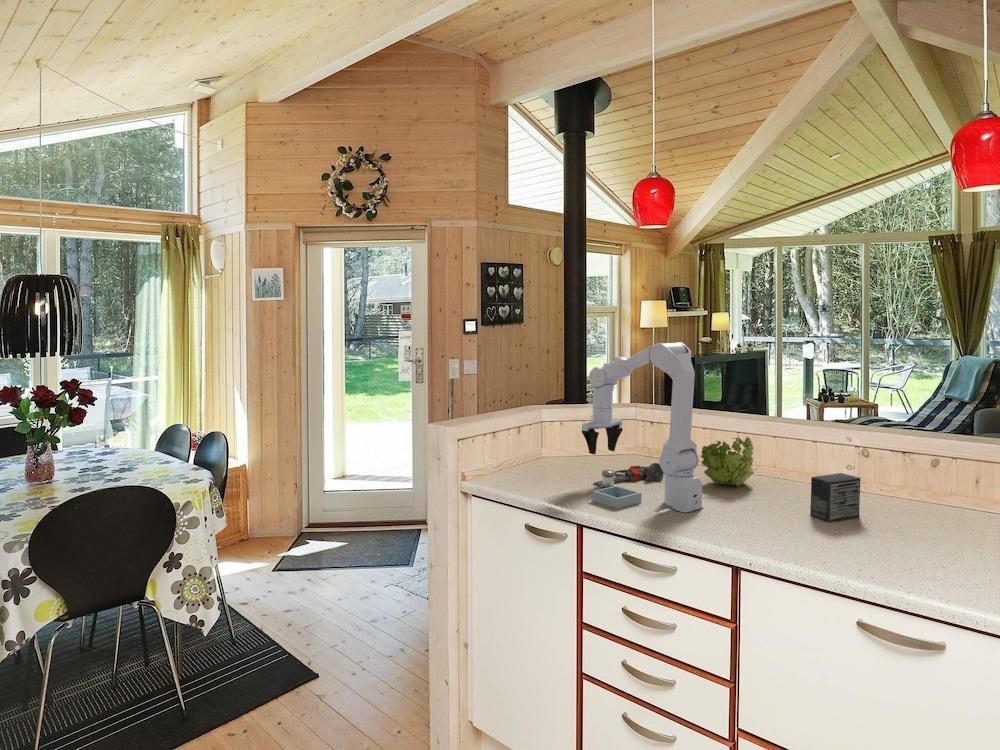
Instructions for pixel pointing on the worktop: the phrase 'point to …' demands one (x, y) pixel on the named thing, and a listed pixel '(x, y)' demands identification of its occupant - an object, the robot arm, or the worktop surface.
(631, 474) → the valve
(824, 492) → the small box
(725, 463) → the lettuce head
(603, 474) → the metal capped cylinder
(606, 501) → the bin
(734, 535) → the worktop surface
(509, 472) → the worktop surface
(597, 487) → the plate
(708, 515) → the worktop surface
